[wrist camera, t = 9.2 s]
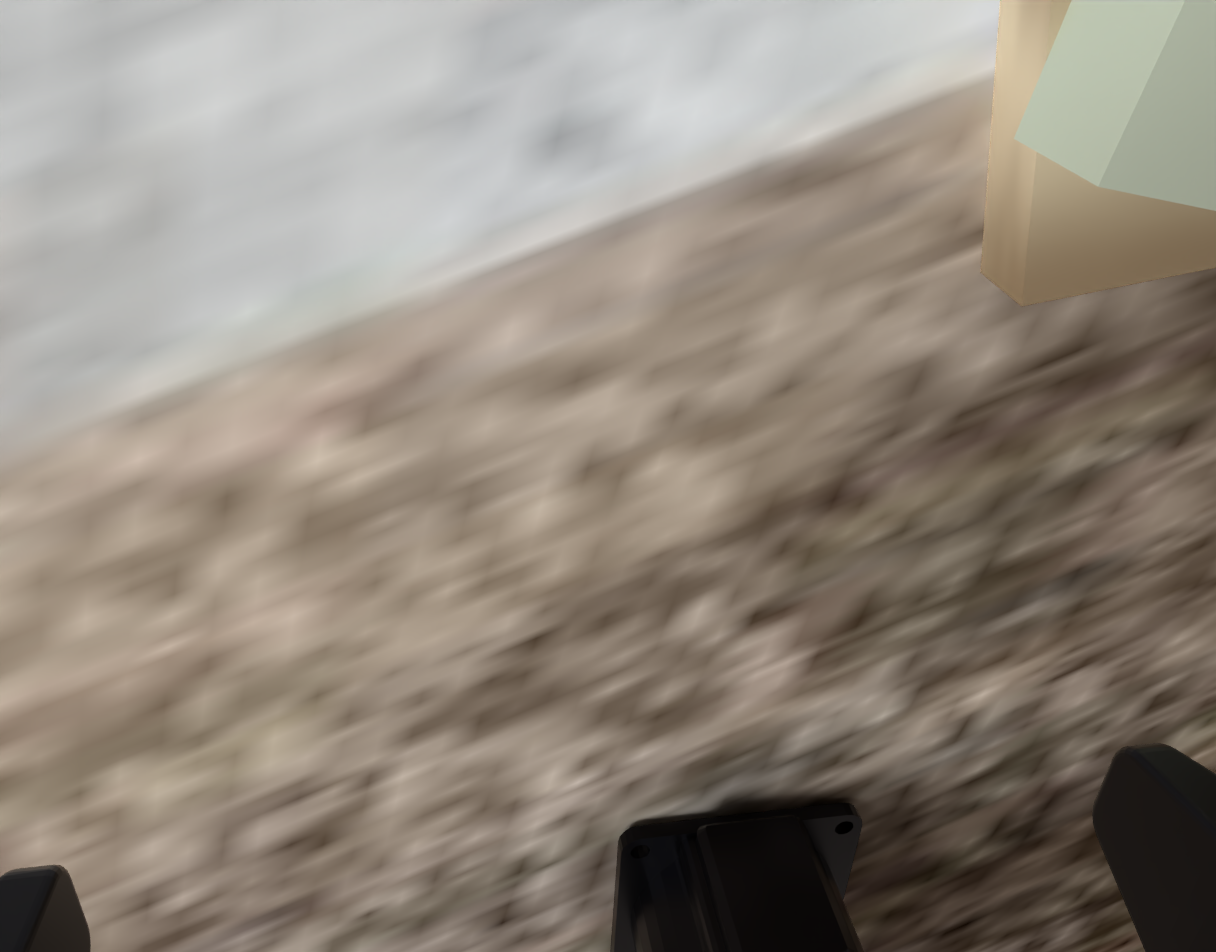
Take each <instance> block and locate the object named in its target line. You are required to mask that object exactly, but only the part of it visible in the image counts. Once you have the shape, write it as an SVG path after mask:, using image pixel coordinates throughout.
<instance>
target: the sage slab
mask: <svg viewBox="0 0 1216 952" xmlns="http://www.w3.org/2000/svg"><path fill="white" fill-rule="evenodd" d="M1014 139H1015V140H1017V141H1019V142H1020V143H1022V144H1024V145H1026V146H1027V147H1029V148H1031V149H1033V150H1034V151H1036V152H1038V153H1040V154H1041V155H1043V156H1045V157H1047V158H1049V159H1050V160H1052V161H1054V162H1056V163H1057V164H1059V165H1061V166H1063V167H1064V168H1066V169H1068V170H1070V171H1071V172H1073V173H1075V174H1077V175H1078V176H1080V177H1082V178H1084V179H1085V180H1087V181H1089V182H1091V183H1092V184H1094V185H1096V186H1098V187H1102V188H1106V189H1111V190H1116V191H1121V192H1126V193H1131V194H1136V195H1140V196H1145V197H1150V198H1155V199H1160V200H1165V201H1170V202H1175V203H1179V204H1184V205H1189V206H1194V207H1199V208H1204V209H1209V210H1214V211H1216V0H1072V1H1071V3H1070V5H1069V8H1068V10H1067V12H1066V15H1065V17H1064V20H1063V22H1062V24H1061V27H1060V29H1059V32H1058V34H1057V36H1056V39H1055V41H1054V44H1053V46H1052V48H1051V51H1050V53H1049V56H1048V58H1047V60H1046V63H1045V65H1044V68H1043V70H1042V72H1041V75H1040V77H1039V79H1038V82H1037V84H1036V87H1035V89H1034V91H1033V94H1032V96H1031V99H1030V101H1029V103H1028V106H1027V108H1026V111H1025V113H1024V115H1023V118H1022V120H1021V123H1020V125H1019V127H1018V130H1017V132H1016V134H1015V137H1014Z"/></svg>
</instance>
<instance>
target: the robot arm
mask: <svg viewBox="0 0 1216 952" xmlns="http://www.w3.org/2000/svg"><path fill="white" fill-rule="evenodd" d="M1092 816H1093V825H1094V829H1095V832H1096V835H1097V838H1098V840H1099V843H1100V845H1101V847H1102V850H1103V852H1104V854H1105V857H1106V859H1107V861H1108V864H1109V866H1110V869H1111V871H1112V873H1113V876H1114V878H1115V880H1116V883H1117V885H1118V888H1119V890H1120V892H1121V895H1122V897H1123V899H1124V902H1125V904H1126V906H1127V909H1128V911H1129V914H1130V916H1131V918H1132V921H1133V923H1134V925H1135V928H1136V930H1137V933H1138V935H1139V937H1140V940H1141V942H1142V944H1143V947H1144V949H1145V951H1146V952H1216V774H1215V773H1213V772H1212V771H1210V770H1208V769H1207V768H1205V767H1204V766H1202V765H1200V764H1199V763H1197V762H1196V761H1194V760H1192V759H1191V758H1189V757H1188V756H1186V755H1184V754H1183V753H1181V752H1180V751H1178V750H1176V749H1174V748H1173V747H1171V746H1168V745H1166V744H1160V743H1153V744H1144V745H1135V746H1127V747H1123V748H1121V749H1120V750H1119V751H1117V753H1116V754H1115V756H1114V757H1113V759H1112V762H1111V764H1110V766H1109V769H1108V771H1107V774H1106V776H1105V778H1104V781H1103V783H1102V785H1101V788H1100V790H1099V792H1098V795H1097V797H1096V800H1095V802H1094V805H1093V812H1092ZM861 828H862V820H861V818H860V816H859V813H858V811H857V809H856V808H855V806H854V805H852V804H849V803H838V804H829V805H820V806H811V807H803V808H794V809H785V810H776V811H767V812H759V813H750V814H741V815H732V816H723V817H715V818H706V819H697V820H688V821H680V822H671V823H662V824H653V825H644V826H637V827H633V828H630V829H628V830H626V831H625V832H624V833H623V834H622V835H621V836H620V838H619V841H618V852H617V866H616V880H615V894H614V908H613V922H612V936H611V950H610V952H864V950H863V948H862V945H861V943H860V941H859V938H858V936H857V933H856V931H855V928H854V926H853V923H852V921H851V918H850V916H849V914H848V911H847V909H846V906H845V904H844V901H843V899H844V895H845V891H846V887H847V883H848V879H849V875H850V871H851V867H852V863H853V859H854V856H855V852H856V848H857V844H858V840H859V836H860V832H861ZM90 946H91V945H90V933H89V928H88V924H87V921H86V919H85V916H84V913H83V910H82V908H81V905H80V902H79V899H78V896H77V894H76V891H75V888H74V885H73V882H72V880H71V877H70V875H69V873H68V871H67V870H66V869H65V868H64V867H62V866H60V865H47V866H38V867H29V868H20V869H15V870H11V871H9V872H7V873H5V874H4V875H2V876H1V877H0V952H90Z"/></svg>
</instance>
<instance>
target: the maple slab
mask: <svg viewBox="0 0 1216 952" xmlns="http://www.w3.org/2000/svg"><path fill="white" fill-rule="evenodd" d="M1071 1H1072V0H1000V9H999V23H998V37H997V51H996V64H995V78H994V92H993V106H992V120H991V134H990V148H989V162H988V176H987V190H986V204H985V218H984V232H983V246H982V259H981V273H982V274H983V275H984V276H985V277H986V278H988V279H989V280H990V281H991V282H993V283H994V284H995V285H996V286H997V287H999V288H1000V289H1001V290H1002V291H1003V292H1005V293H1006V294H1007V295H1008V296H1009V297H1011V298H1012V299H1013V300H1014V301H1016V302H1017V303H1018V304H1019V305H1020V306H1027V305H1032V304H1037V303H1042V302H1047V301H1052V300H1057V299H1062V298H1067V297H1072V296H1077V295H1082V294H1087V293H1092V292H1097V291H1102V290H1107V289H1112V288H1117V287H1122V286H1127V285H1132V284H1137V283H1142V282H1147V281H1152V280H1157V279H1162V278H1167V277H1172V276H1177V275H1182V274H1187V273H1192V272H1197V271H1202V270H1207V269H1212V268H1216V211H1214V210H1209V209H1204V208H1199V207H1194V206H1189V205H1184V204H1179V203H1175V202H1170V201H1165V200H1160V199H1155V198H1150V197H1145V196H1140V195H1136V194H1131V193H1126V192H1121V191H1116V190H1111V189H1106V188H1102V187H1098V186H1096V185H1094V184H1092V183H1091V182H1089V181H1087V180H1085V179H1084V178H1082V177H1080V176H1078V175H1077V174H1075V173H1073V172H1071V171H1070V170H1068V169H1066V168H1064V167H1063V166H1061V165H1059V164H1057V163H1056V162H1054V161H1052V160H1050V159H1049V158H1047V157H1045V156H1043V155H1041V154H1040V153H1038V152H1036V151H1034V150H1033V149H1031V148H1029V147H1027V146H1026V145H1024V144H1022V143H1020V142H1019V141H1017V140H1015V139H1014V137H1015V134H1016V132H1017V130H1018V127H1019V125H1020V123H1021V120H1022V118H1023V115H1024V113H1025V111H1026V108H1027V106H1028V103H1029V101H1030V99H1031V96H1032V94H1033V91H1034V89H1035V87H1036V84H1037V82H1038V79H1039V77H1040V75H1041V72H1042V70H1043V68H1044V65H1045V63H1046V60H1047V58H1048V56H1049V53H1050V51H1051V48H1052V46H1053V44H1054V41H1055V39H1056V36H1057V34H1058V32H1059V29H1060V27H1061V24H1062V22H1063V20H1064V17H1065V15H1066V12H1067V10H1068V8H1069V5H1070V3H1071Z"/></svg>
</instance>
